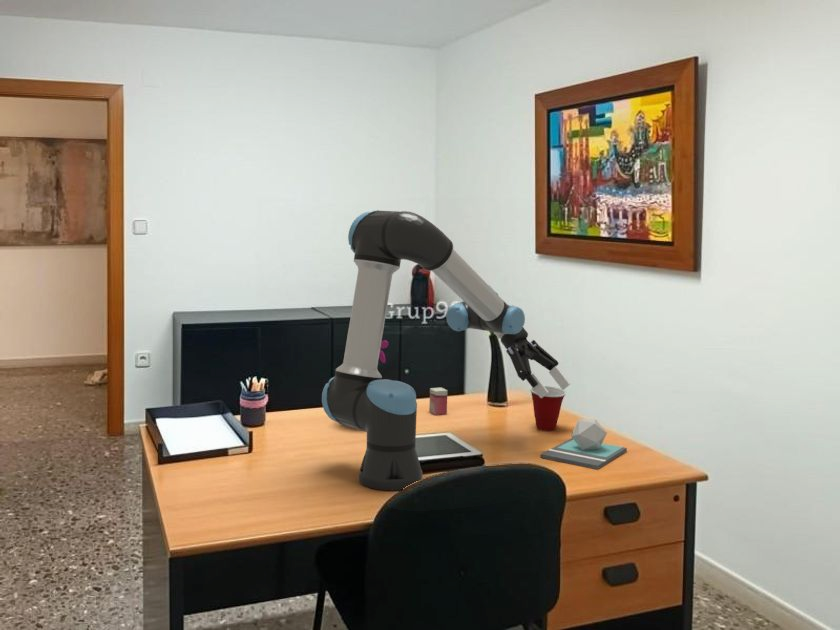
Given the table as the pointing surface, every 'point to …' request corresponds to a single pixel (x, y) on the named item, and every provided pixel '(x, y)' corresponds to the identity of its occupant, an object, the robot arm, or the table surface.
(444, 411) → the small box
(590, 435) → the die
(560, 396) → the plastic cup
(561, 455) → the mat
